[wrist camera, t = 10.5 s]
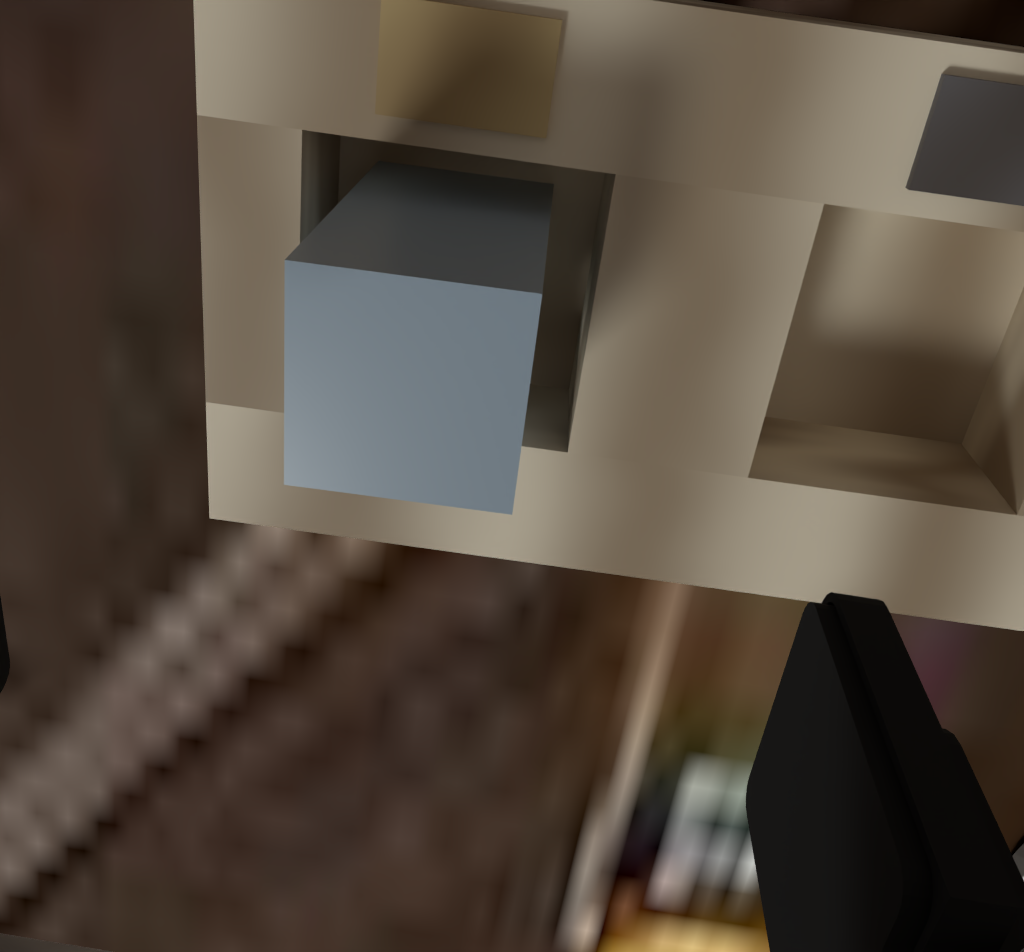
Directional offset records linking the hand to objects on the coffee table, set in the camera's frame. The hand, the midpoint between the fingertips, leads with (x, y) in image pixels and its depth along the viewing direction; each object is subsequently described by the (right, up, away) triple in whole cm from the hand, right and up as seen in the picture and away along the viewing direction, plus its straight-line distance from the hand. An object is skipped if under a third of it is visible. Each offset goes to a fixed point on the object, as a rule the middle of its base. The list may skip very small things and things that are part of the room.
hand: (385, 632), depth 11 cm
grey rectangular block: (0, +7, +12) cm, 14 cm away
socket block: (+5, +7, +12) cm, 15 cm away
